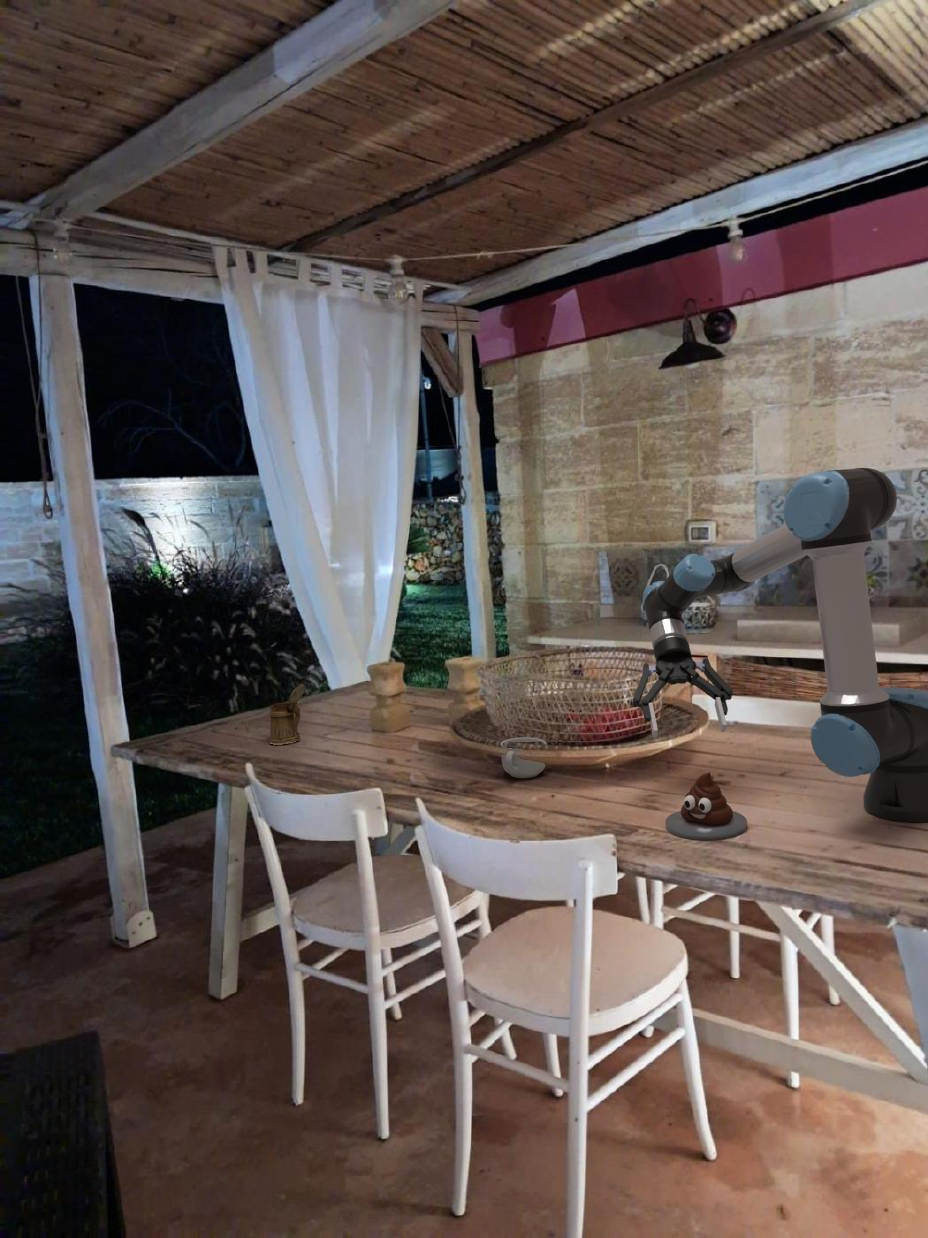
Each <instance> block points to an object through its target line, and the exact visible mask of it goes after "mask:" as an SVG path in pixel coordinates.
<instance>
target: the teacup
mask: <svg viewBox="0 0 928 1238" xmlns="http://www.w3.org/2000/svg"><path fill="white" fill-rule="evenodd" d="M505 742H542V743H544V744H545V745H546V746H547V741H546V740H544V739H541V738H536V737H526V736H525V737H524V736H523V737H513V738H512V737H511V738H508V739H505V740H502V741H501V742H500V743H499V744H500V748H501V747H502V748H503V749H506V750H511V751H509V752H507V754H506V755H505V754H504V755H502V756H501V763H502V768H503V769H504V771H505V773H508V775H510V776H511V777H513V778H517V779H530V778H535V777H537V776H538V775H539V774H540V773H542V772H543V771H544V770H545V768H546V765H545V764H544V763H541V762H535V761H531V760H523V759H520V758H519V757H517V755H516V753H515V752H516V751H520V750H522V749H512V748H507V747H504V746H503V743H505ZM514 751H515V752H514Z"/></svg>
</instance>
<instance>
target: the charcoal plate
mask: <svg viewBox="0 0 928 1238" xmlns="http://www.w3.org/2000/svg"><path fill="white" fill-rule="evenodd" d="M732 811H733V818H732V820H731V821H730V822H729V823H727V824H724V825H719V826H709V825H705V824H702V823H699V822H689V821H686V820H685V819H684V818H683V817H682V815H681V810H678V811H675V812H673V813H671V814H669V815H668V816H667V817H666V818H665V829H666V830H667V832H669V833H670V834H671V833H672V834H671V835H673V834H674V835H673V836H675V835H677V836H676V837H678V836H679V838H681V839H687V840H692V841H704V840H706V841H707V840H708V841H709V840H710V841H722V840H727V838H728V839H732V838H734V837H737V835H738V836H740V835H742V834H744V833H745V832H746V830H747V829H748V820H747V818H746V817H745V816H744V815H743V814H742V813H739V812H737V811H734V810H732ZM731 837H732V838H731ZM721 839H722V840H721ZM708 841H707V842H708Z"/></svg>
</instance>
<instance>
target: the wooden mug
mask: <svg viewBox="0 0 928 1238" xmlns="http://www.w3.org/2000/svg"><path fill="white" fill-rule="evenodd" d="M305 689H306V686H305V685H304V683H303V682H301V683H299V684H298V685H297V686H296V687H295V688H294V689H292V691H291V692H290V693H289V696H288V701H289V702H282V703H281V702H280V703H275V704H272V705H270V711H269V716H270V721H269V722H270V723H269V724H270V725H269V727H270V728H269V729H270V730H269V731H270V732H269V735H270V736H269V741H268V742H272V743H286V742H294V741H298V740H299V739H300V738H301V734H300V732H299V730H298V725H299V722H300V720H301V719H300V718H301V708H300V705H299V704H298V701H299V700H300V699H301V697H302V696H303V694H304V693H305ZM300 740H301V739H300ZM298 742H299V741H298Z"/></svg>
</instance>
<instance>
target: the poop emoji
mask: <svg viewBox="0 0 928 1238" xmlns="http://www.w3.org/2000/svg"><path fill="white" fill-rule="evenodd" d="M680 811H681V815H682V817H683V818H684V819H685V820H686V821H689V822H699V823H702V824H705V825H709V826H719V825H724V824H727V823H729V822H730V821H731V820H732V818H733V811H734V810H733V809H732V807H731V806H730V805H729V804H728V801H727V799H726V796H724V795H723V792H722V790H721V787H720V786H719V785H718V784H717V783H715V781H714V780H713V778H712V775H711V772H705V773H703V774H702V775H700V776H699V777H698V778H697V779H696V781H695V783H694V784H693V785H692V786H691V788H690V789H689V791H688V792H687V793H686V794H685V797H684V799H683V805H682V806H681V809H680Z"/></svg>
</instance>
